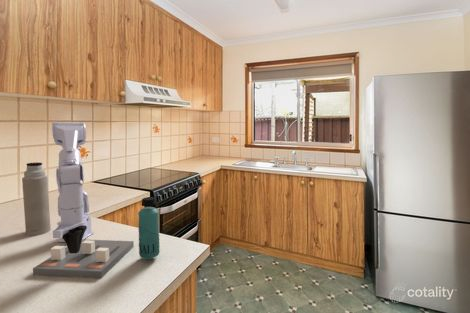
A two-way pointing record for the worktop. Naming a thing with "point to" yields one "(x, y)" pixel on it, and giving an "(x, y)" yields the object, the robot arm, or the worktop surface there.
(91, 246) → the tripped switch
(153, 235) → the beverage bottle
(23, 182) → the thermos bottle
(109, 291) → the worktop surface
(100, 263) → the switch panel
